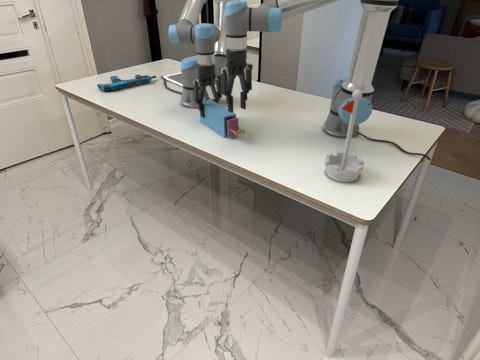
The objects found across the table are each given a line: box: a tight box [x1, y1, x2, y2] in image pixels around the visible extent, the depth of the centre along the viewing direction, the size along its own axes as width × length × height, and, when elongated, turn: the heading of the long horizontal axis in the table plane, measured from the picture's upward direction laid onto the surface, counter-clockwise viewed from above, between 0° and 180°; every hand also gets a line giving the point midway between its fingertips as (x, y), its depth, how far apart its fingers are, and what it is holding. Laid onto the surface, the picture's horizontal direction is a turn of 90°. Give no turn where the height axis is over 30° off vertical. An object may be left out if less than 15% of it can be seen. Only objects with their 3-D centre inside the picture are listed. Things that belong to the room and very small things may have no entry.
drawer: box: [225, 117, 246, 138], centre depth 146 cm, size 25×5×8 cm, turn 34°
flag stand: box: [323, 90, 365, 183], centre depth 111 cm, size 13×13×30 cm
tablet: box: [160, 72, 183, 88], centre depth 213 cm, size 32×20×1 cm, turn 41°
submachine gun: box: [96, 74, 157, 92], centre depth 207 cm, size 34×4×25 cm
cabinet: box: [199, 99, 237, 138], centre depth 151 cm, size 21×6×9 cm, turn 34°
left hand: (209, 114), depth 156 cm, fingers closed on cabinet, 6 cm apart
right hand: (236, 109), depth 135 cm, fingers open, 5 cm apart
